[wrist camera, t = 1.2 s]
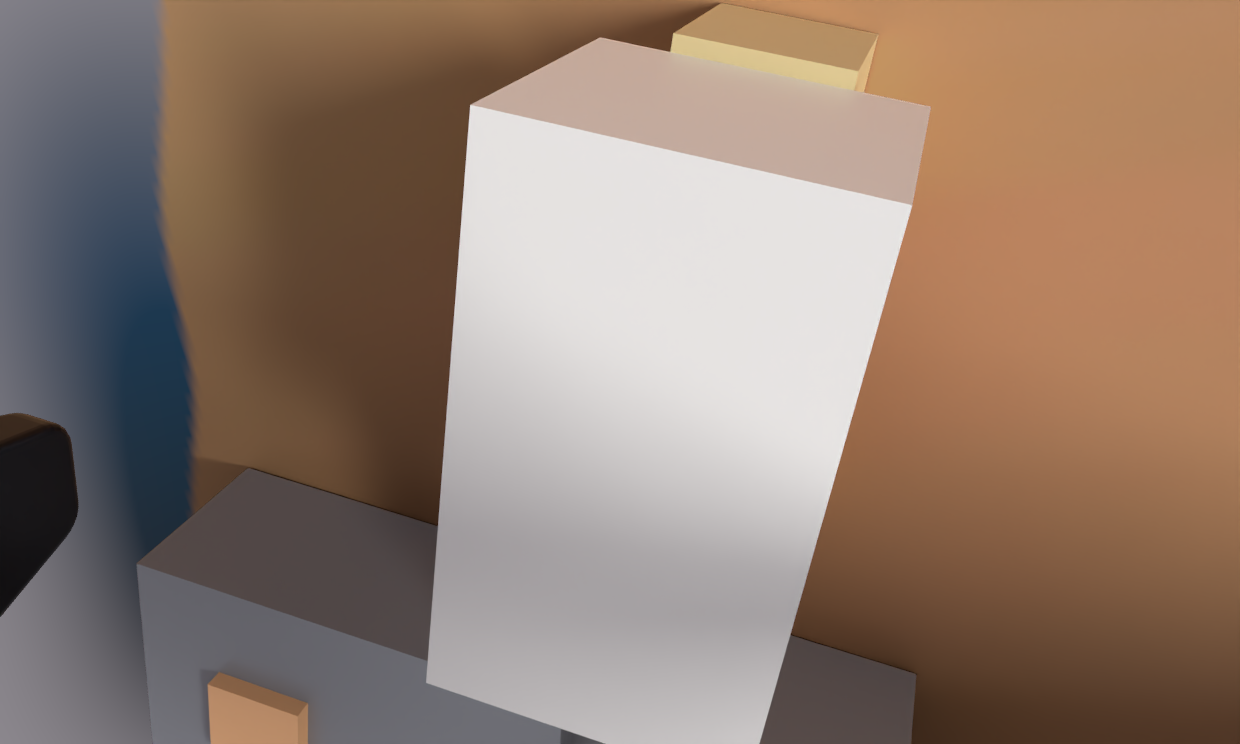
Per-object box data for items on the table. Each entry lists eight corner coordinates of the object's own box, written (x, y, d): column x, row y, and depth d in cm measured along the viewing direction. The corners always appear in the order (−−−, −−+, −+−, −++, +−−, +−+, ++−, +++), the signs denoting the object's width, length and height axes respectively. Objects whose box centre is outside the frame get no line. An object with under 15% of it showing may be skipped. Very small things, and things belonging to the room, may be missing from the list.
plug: (943, 46, 13) (918, 179, 8) (786, 612, 17) (704, 936, 12) (661, -9, 14) (472, 80, 9) (575, 548, 18) (414, 830, 13)
